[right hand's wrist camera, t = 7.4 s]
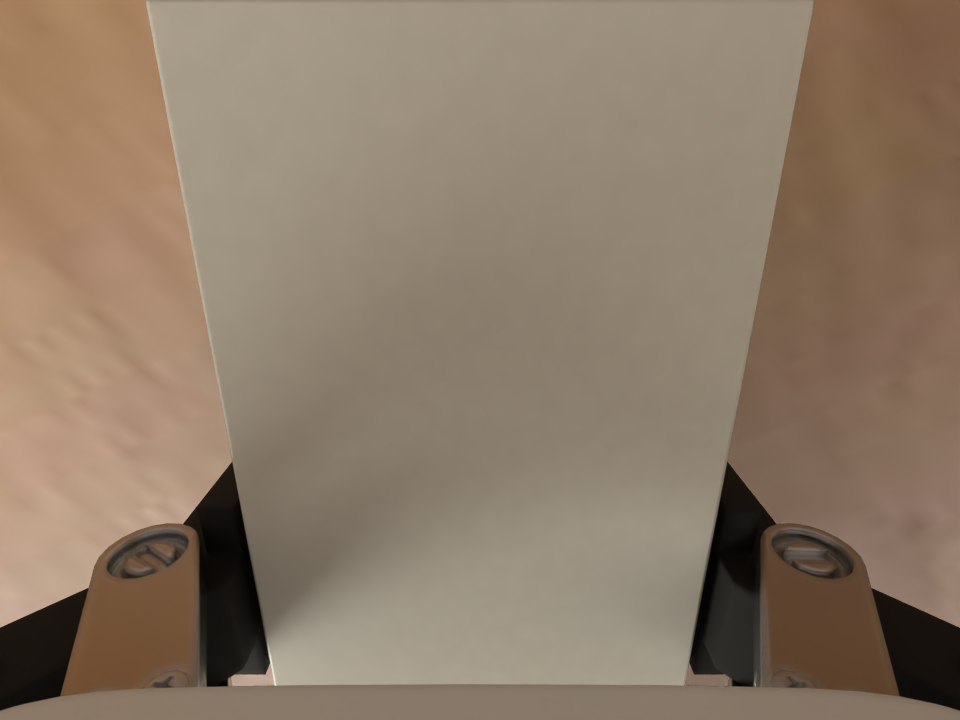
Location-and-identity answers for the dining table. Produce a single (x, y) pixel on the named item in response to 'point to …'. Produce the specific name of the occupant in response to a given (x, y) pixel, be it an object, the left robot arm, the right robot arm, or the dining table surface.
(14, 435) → the dining table surface
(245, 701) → the right robot arm
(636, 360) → the bar
